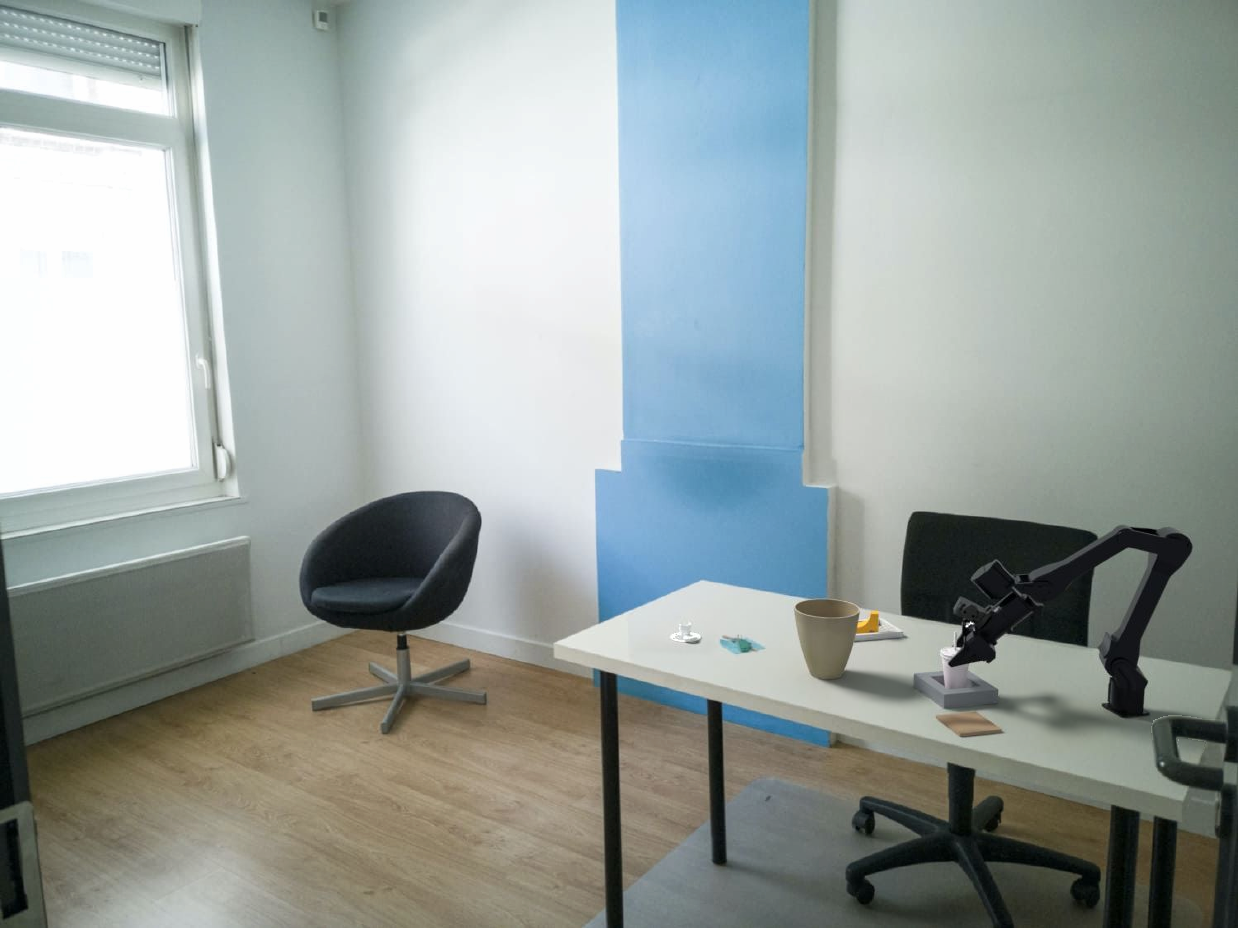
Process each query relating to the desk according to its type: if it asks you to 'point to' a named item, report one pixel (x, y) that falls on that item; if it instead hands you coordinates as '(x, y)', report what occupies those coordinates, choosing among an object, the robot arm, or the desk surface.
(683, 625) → the teacup and saucer
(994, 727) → the pad
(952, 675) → the smoothie
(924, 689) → the dock
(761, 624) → the desk surface
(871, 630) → the pipe clamp
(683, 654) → the desk surface
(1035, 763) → the desk surface
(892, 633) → the tray
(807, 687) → the desk surface
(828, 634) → the plant pot
